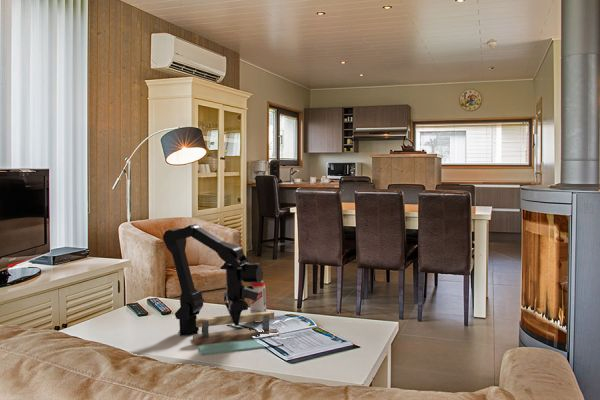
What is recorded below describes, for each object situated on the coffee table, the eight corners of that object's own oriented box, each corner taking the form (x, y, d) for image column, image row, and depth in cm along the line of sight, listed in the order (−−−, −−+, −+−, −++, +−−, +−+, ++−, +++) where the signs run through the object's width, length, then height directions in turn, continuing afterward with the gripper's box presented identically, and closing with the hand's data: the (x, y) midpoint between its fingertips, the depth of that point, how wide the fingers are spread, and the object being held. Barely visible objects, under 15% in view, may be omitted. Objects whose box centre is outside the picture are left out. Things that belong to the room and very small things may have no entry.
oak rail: (196, 327, 187) (196, 320, 186) (196, 325, 189) (195, 318, 189) (274, 319, 194) (274, 312, 194) (272, 317, 197) (272, 311, 197)
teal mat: (201, 355, 174) (201, 353, 174) (198, 347, 182) (198, 345, 182) (284, 345, 181) (284, 343, 181) (277, 337, 190) (277, 336, 190)
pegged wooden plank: (203, 339, 186) (202, 322, 186) (201, 335, 191) (201, 318, 190) (270, 331, 193) (269, 315, 193) (267, 327, 197) (266, 311, 197)
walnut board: (195, 345, 184) (194, 341, 184) (193, 338, 192) (192, 334, 191) (279, 335, 192) (279, 331, 192) (274, 329, 200) (273, 325, 200)
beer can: (264, 323, 209) (262, 283, 208) (248, 322, 210) (247, 282, 209) (268, 318, 215) (266, 279, 214) (253, 318, 216) (251, 279, 215)
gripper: (261, 284, 184) (263, 329, 185) (251, 275, 202) (252, 315, 203) (229, 287, 181) (231, 332, 182) (222, 277, 199) (223, 318, 200)
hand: (235, 324), depth 192 cm, fingers open, 3 cm apart
